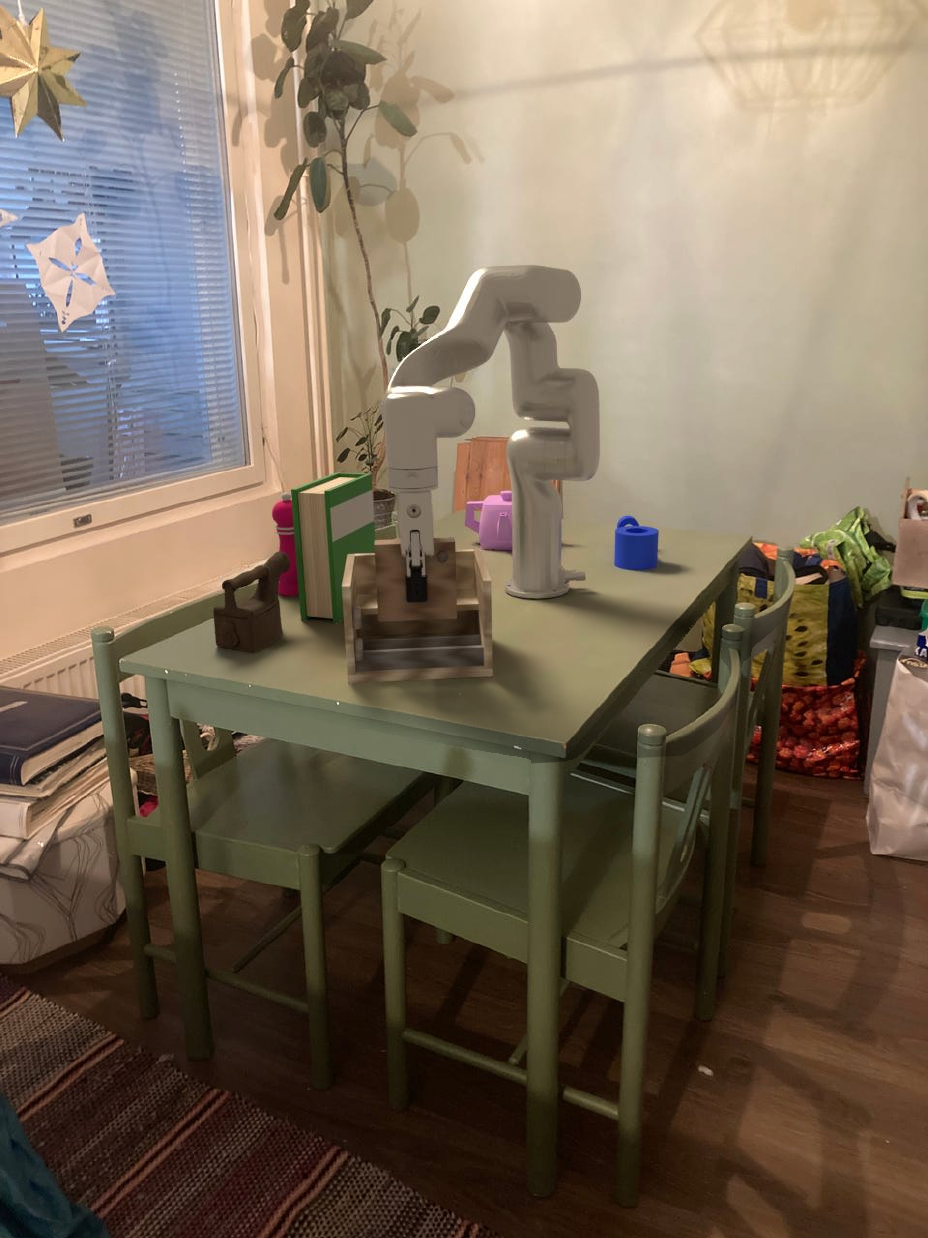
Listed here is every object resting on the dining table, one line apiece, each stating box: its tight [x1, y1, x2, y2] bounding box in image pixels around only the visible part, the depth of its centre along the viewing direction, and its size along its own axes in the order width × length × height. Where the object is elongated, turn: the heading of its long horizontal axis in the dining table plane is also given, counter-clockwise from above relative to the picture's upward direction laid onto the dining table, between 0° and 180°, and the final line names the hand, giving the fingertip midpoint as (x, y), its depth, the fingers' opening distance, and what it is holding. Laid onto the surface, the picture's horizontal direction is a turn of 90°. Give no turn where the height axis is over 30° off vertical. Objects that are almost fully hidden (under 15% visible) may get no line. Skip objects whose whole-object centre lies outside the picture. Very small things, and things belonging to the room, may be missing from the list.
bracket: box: [613, 515, 659, 571], centre depth 213 cm, size 20×9×8 cm, turn 178°
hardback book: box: [290, 471, 376, 625], centre depth 181 cm, size 18×7×24 cm, turn 161°
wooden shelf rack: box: [342, 548, 494, 684], centre depth 155 cm, size 22×19×15 cm
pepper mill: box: [271, 491, 299, 597], centre depth 192 cm, size 7×7×20 cm
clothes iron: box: [212, 550, 290, 653], centre depth 167 cm, size 8×16×13 cm, turn 154°
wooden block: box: [374, 536, 457, 622], centre depth 148 cm, size 12×4×12 cm, turn 94°
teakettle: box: [464, 490, 512, 551], centre depth 228 cm, size 17×17×12 cm
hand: (416, 596), depth 149 cm, fingers closed on wooden block, 3 cm apart
